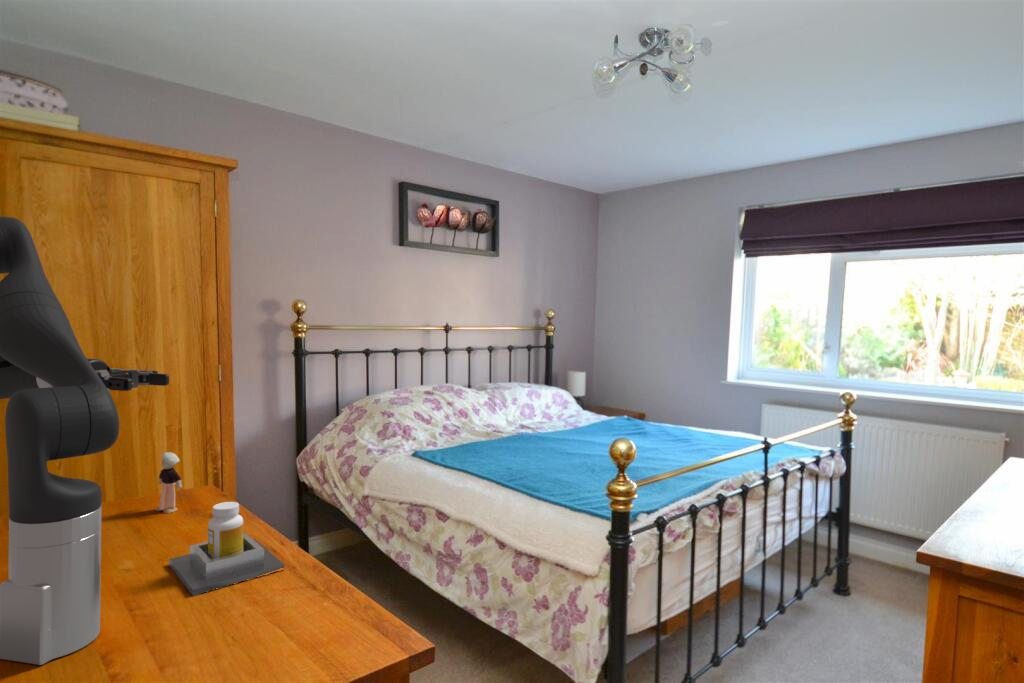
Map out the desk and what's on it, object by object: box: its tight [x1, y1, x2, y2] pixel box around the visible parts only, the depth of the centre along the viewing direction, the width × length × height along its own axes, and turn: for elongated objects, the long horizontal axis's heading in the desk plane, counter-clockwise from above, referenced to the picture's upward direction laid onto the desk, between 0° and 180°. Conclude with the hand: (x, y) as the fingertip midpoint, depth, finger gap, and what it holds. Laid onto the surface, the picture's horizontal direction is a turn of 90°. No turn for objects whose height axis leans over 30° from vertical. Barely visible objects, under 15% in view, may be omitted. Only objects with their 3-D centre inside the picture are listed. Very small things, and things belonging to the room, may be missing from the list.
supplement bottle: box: [207, 501, 244, 560], centre depth 95 cm, size 5×5×10 cm
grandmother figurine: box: [155, 451, 183, 514], centre depth 120 cm, size 8×4×13 cm, turn 73°
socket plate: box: [168, 532, 285, 597], centre depth 95 cm, size 14×14×4 cm
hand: (149, 382), depth 103 cm, fingers open, 8 cm apart
